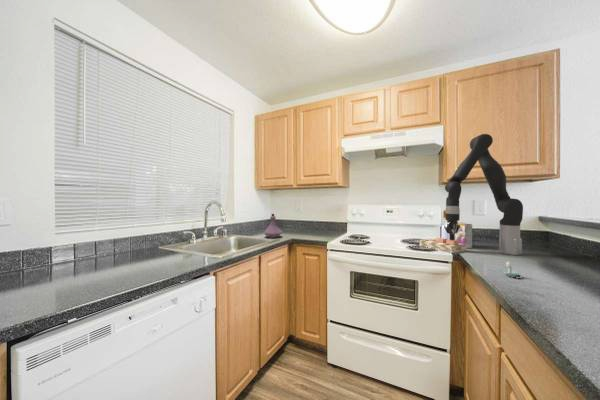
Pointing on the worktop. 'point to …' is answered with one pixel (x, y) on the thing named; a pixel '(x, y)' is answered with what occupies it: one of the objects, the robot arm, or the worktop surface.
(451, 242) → the button inner
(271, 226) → the flask
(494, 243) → the worktop surface
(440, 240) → the button middle
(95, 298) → the worktop surface
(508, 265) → the pacifier
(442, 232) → the soap bottle
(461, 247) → the button board
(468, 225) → the candy bar box
